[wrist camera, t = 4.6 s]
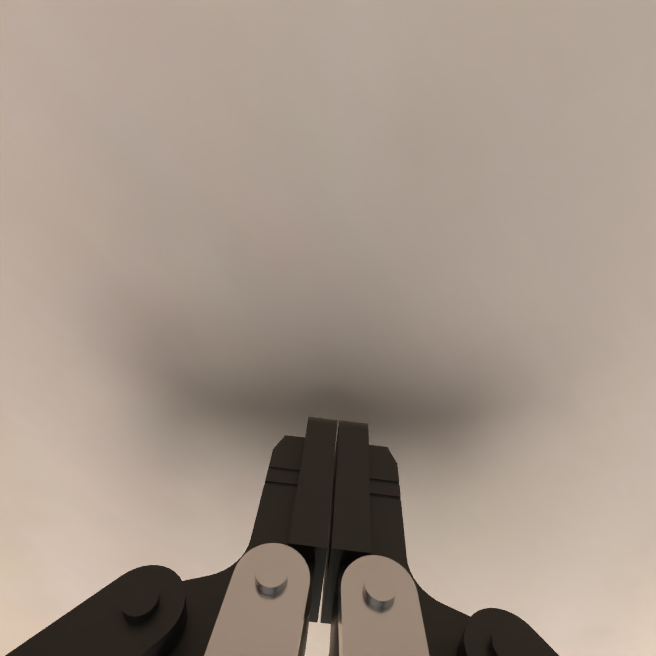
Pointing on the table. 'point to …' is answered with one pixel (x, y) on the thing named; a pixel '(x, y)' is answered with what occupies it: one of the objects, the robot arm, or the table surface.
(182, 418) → the table surface
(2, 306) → the table surface
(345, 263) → the table surface
